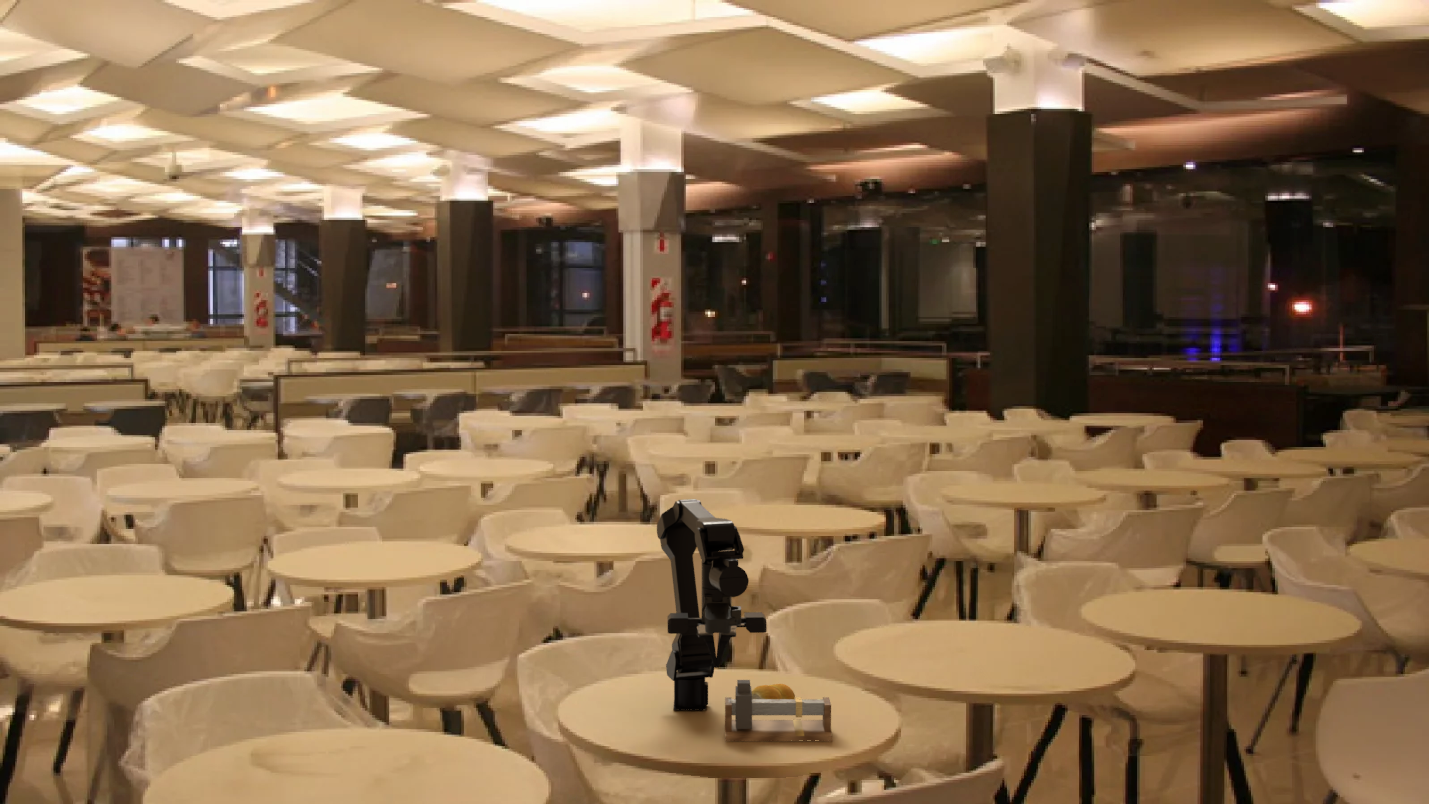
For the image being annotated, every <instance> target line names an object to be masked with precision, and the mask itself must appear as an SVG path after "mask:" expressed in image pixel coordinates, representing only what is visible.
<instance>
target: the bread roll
mask: <svg viewBox="0 0 1429 804" xmlns="http://www.w3.org/2000/svg"><path fill="white" fill-rule="evenodd" d="M795 697H796V694H795V692H794V690H793V689H792V688H791V687H790V686H789V685H787V684H785V683H776V684H775V683H774V684H770V685H768V684H765V685H757V686H756V687H754V688H753V689H752V699H795Z"/></svg>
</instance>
